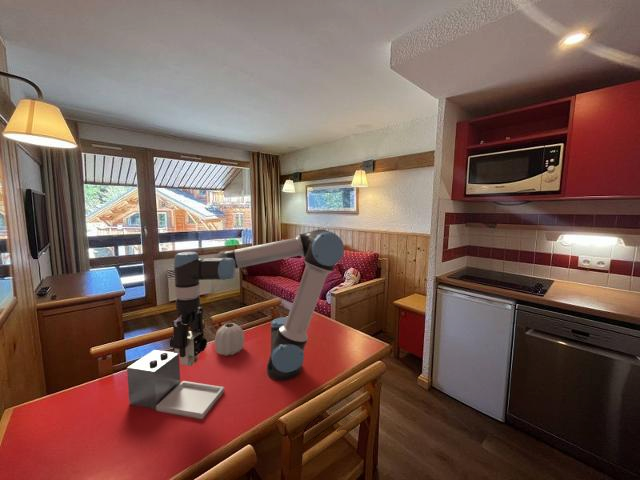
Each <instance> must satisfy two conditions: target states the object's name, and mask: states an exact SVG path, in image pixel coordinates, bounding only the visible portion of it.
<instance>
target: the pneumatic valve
mask: <svg viewBox="0 0 640 480" xmlns="http://www.w3.org/2000/svg"><path fill="white" fill-rule="evenodd" d="M204 335H205V334H204V332H203V333H199V332H196V331H195V332H193V331H191V330H189V331H188V338H187V346H186V347H188V355H189V365H184V366H186V367H192V366H193V365H194V364H196V363H197V362H198V357H199V356H197V355H198V354H199V355H200V354H201V353H202V352H204V351H205V349H206V348H207V344H208V339H207V338H206V337H205V336H204ZM169 346H170V347H171V348H172V352H173V353H177V354H179V349H176V348H174V335H172V336H171V338H170V340H169Z"/></svg>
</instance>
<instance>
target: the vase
mask: <svg viewBox="0 0 640 480" xmlns="http://www.w3.org/2000/svg"><path fill="white" fill-rule="evenodd" d="M244 344H245V335H244V330H243V329H242V327H241V326H240V325H238V324H236V323H234V322H229V323H225V324H223V325H221V326H220V327H219V328H218V329H217V330H216V333H215V337H214V349H215V352H217V353H218V354H219V355H221V356H225V357H228V356H229V355H231V356H234V355H235V354H238V353H240V352H241V350H242V349H243V348H244Z"/></svg>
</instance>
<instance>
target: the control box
mask: <svg viewBox="0 0 640 480" xmlns="http://www.w3.org/2000/svg"><path fill="white" fill-rule="evenodd" d="M180 372H181V370H180V355H179V354H177V353H173V351H165V350H157V349H153V350H152V351H150V352H149V353H147V354H145V355H143V356H142V357H141V358H140V359H137V360H136V361H135V362H133V363H132V364H129V366H128V367H126V373H127V388H128V401H129V405H130V406H138V407H142V408H143V407H144V408H148V409H152V410H153V409H154V410H156V405H158V404H159V403H160V402H161V401H162V400H163V399H164V398H165V397H166V396H167V395H168V394H169V393H171V392H172V391H173V390H174V389H175V388H176V387H177V386H178V385H179V384H180V383H181V373H180Z"/></svg>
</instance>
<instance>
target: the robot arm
mask: <svg viewBox="0 0 640 480" xmlns="http://www.w3.org/2000/svg"><path fill="white" fill-rule="evenodd" d="M344 246H345V245H344V242H343V241H342V239H341V237H340V236H339V235H337V234H336V233H335V232H332V231H329V230H326V229H323V228H322V229H321V228H320V229H314V230H311V231H309V232H305V233H301V234H300V233H299V234H297V236H296V237H292V238H286V239H282V240H277V241H272V242H266V243H263V244H257V245H251V246H246V247H242V248H237V249H233V250H222V251H219V252H217V253H216V254H215V255H214V257H209V258H208V257H200V256H199V253H198V252H196V251H184V252H183V251H182V252H177V253H176V254H175V255H174V263H173V264H174V265H173V269H174V271H173V272H174V284H175V285H174V286H175V309H176V310H177V311H178V315H177V319H176V320H174V319H173V320H172V321H171V325H172V327H173V328H172V329H173V331H172V333H173V336H174V348H176V349H179V363H180V365H182V366H185V365H189V355H188V347H186V346H187V338H188V331H193V332H195V331H196V332H199V333H204V321H203V319H204V317H203V313H204V308H203V307H200V305H201V296H200V294H201V289H200V287H201V286H200V281H205V280H207V281H209V280H211V281H213V280H224V281H226V280H231V279H234V278H235V275H236V269H239V268H245V267H250V266H255V265H260V264H264V263H265V264H266V263H268V262H274V261H280V260H282V259H287V258H294V257H298V256H300V257H302V258H304V260H303V261H304V262H303V263H304V264H305V269H304V271H303V273H302V277H301V280H300V283H299V285H298V286H297V287H298V288H297V291H296V292H295V296H294V299H293V301H292V304H291V306H290V309H289V313H288V315H287V316H285V317H284V316H283V317H276V318H274V319H273V320H272V321H271V322H270V355H269V359H268V361H267V364H266V374H267V375H268V376H269V377H270V378H271V379H273V380H276V381H289V380H292V379H295V378H297V377H298V376H299V375H301V373H302V368H303V363H304V360H305V353H304V350H305V347H306V345H307V342H308V339H309V336H308V334H307V331H308V328H309V325H310V322H311V319H312V316H313V314H314V312H315V309H316V306H317V303H318V302H319V298H320V296H321V293H322V290H323V287H324V285H325V282H326V280H327V276H328V274H330V273H333V272H334V269H335V266H336V264H337V263H339V262H340V261H341V260H342V258H343V256H344V252H345V247H344ZM189 329H190V330H189ZM197 357H200V353H199V354H198V355H197Z"/></svg>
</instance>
